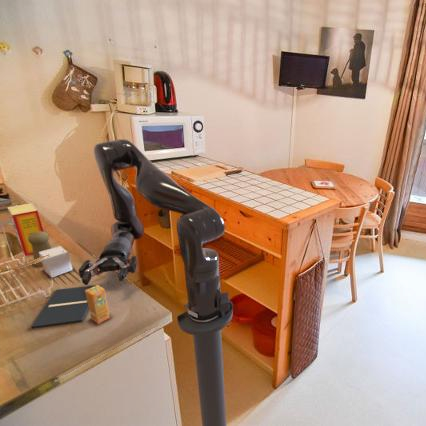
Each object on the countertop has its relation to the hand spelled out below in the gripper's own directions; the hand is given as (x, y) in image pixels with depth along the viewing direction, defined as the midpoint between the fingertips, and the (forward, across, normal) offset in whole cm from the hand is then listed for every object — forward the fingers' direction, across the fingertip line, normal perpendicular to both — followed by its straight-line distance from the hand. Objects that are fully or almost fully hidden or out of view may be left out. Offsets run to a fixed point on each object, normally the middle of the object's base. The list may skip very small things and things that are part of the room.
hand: (102, 280), depth 90 cm
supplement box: (+7, 0, +8) cm, 11 cm away
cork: (-28, -25, +8) cm, 39 cm away
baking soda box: (-39, -33, +8) cm, 52 cm away
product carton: (-21, -19, +8) cm, 30 cm away
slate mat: (-1, -10, +8) cm, 13 cm away
